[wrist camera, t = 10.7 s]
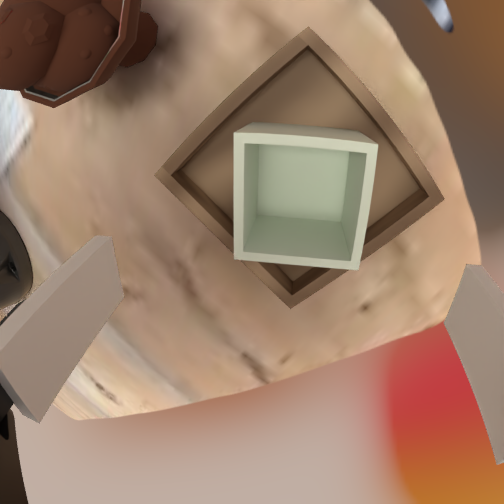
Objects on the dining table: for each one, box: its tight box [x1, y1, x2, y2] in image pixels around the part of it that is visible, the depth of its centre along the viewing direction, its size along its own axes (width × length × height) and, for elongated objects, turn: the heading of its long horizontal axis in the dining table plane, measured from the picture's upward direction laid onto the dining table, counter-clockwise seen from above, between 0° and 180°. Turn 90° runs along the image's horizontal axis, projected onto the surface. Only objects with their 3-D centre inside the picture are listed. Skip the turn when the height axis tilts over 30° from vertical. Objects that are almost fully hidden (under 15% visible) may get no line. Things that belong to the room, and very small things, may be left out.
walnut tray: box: [154, 27, 444, 309], centre depth 24 cm, size 16×16×3 cm
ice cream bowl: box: [0, 0, 158, 108], centre depth 15 cm, size 11×11×15 cm
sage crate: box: [234, 122, 378, 270], centre depth 21 cm, size 8×8×7 cm
